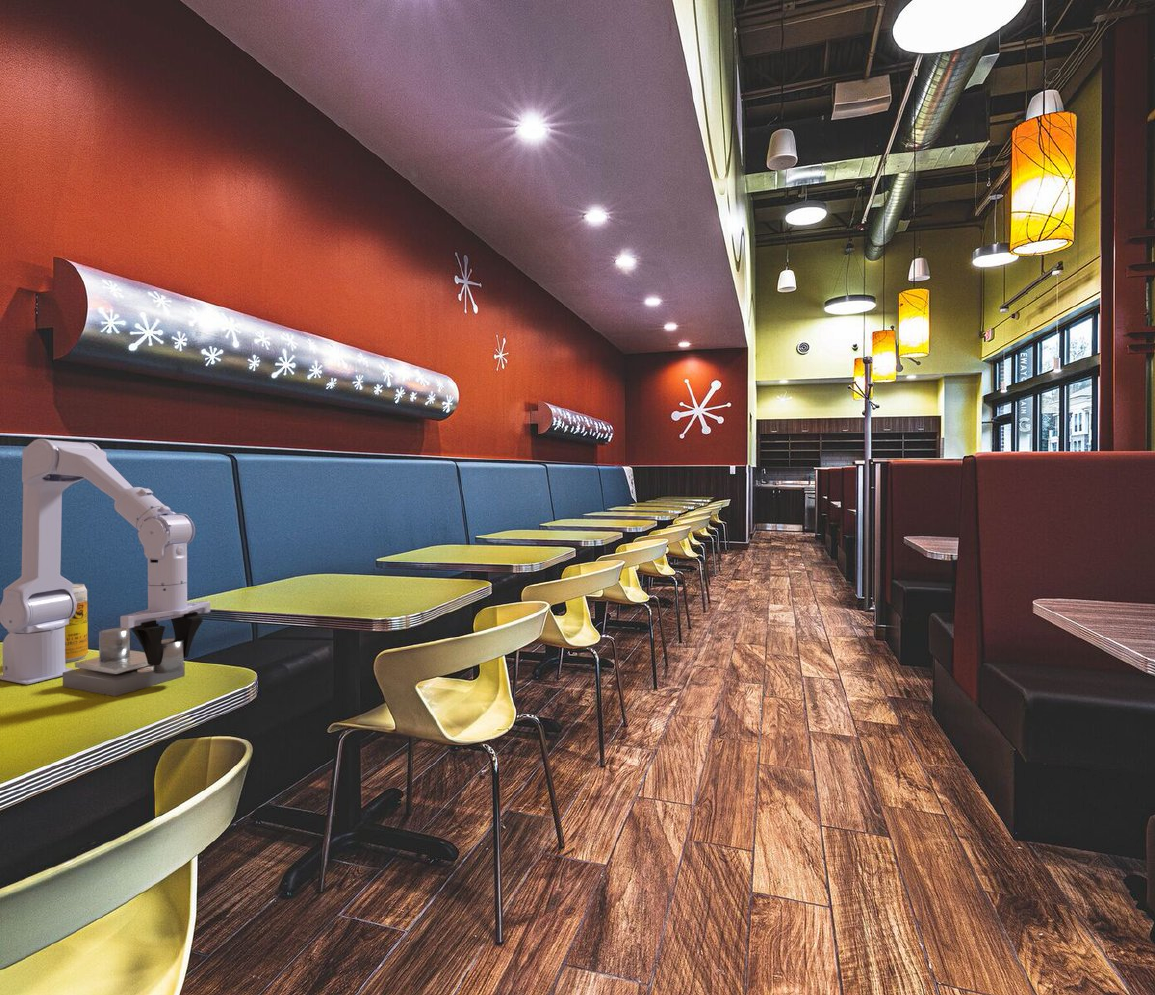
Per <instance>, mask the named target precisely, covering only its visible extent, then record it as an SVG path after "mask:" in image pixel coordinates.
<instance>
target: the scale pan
mask: <svg viewBox="0 0 1155 995" xmlns="http://www.w3.org/2000/svg"><path fill="white" fill-rule="evenodd" d="M148 665H149V664H148V662H147V658H146V655H145V652H143V651H137V650H131V649H130V657H128V658H126V659H122V660H117V661H107V662H103V661H100V660H99V656H98V657H94V658H90V659H85V660H79V661H75V662H74V668H76V669H79V668H82V669H88V670H94V671H100V672H106V673H112V674H118V673H122V672H125V671H129V670H133V669H137V668H140V667H144V666H148Z"/></svg>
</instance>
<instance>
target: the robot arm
mask: <svg viewBox="0 0 1155 995" xmlns="http://www.w3.org/2000/svg"><path fill="white" fill-rule="evenodd" d="M21 453H22V460H21V461H22V465H21V470H22V471H21V482H22V483H23V484H22V487H23V488H22V489H23V490H22V529H21V530H22V536H21V537H22V538H21V541H22V542H21V543H22V544H21V576H20V577H19V578H18V579H16V580H15V581H13V582H12V583H11V584H9V585H8V586H6V587H5V588H4V589H3V595H2V601H1V603H0V624H1V625H2V626H3V628H4V629H6V630H7V632H8V634H7V635H6V636H5V638H4V639H3V641H2V645H1V646H2V647H1V648H2V674H1V675H0V680H2V681H7V682H12V683H17V684H23V685H31V684H35V683H38V682H43V681H47V680H50V679H51V680H52V679H56V678H58V677H63V672H67V671H71V670H75V668H69V667H66V663H65V625H68V624H69V620H70V619H71V618H72V617H73V616H74V614H75V612H76V608H77V602H76V599H75V596H74V593H73V584H74V583H73V582H72V581H70V580H68V579H67V578H65V577H64V576H62V575H61V561H62V559H61V558H62V557H61V556H62V553H61V552H62V549H61V548H62V546H61V545H62V512H63V511H62V509H63V508H62V505H63V504H62V502H63V499H62V498H63V492H64V491H65V490H66V489H68V488H69V487H70V486H71V485H73V484H75V483H78V482H81V481H83V480H85V479H86V481H88V482H90V483H91V484H93V485H94V486H95V487H96V488H98V489H99V490H100V491H102V492H103V493H105V494H106V495H107V496H109V497H110V498H111V499H112V500H114V502H113V507H114V508H113V509H114V510H115V511H116V512H117V513H118V514H119V515H120V516H121V517H122V518H123V519H125V520H126V521H127V522H128V523H129V524H130V525H132V526H133V527H134V528H135V529H136V530H137V531H138V532H137V536H138V539H139V542H140V543H141V545H142V546H143V550H144V551H143V552H144V553H143V554H144V556H145V558H146V559H147V609H143V610H139V611H137V612H133V613H129V614H124V615H120V616H119V617H120V618H119V619H120V621H119V622H120V628H129V629H131V631H132V632H133V634H134V635H135V637H136V639H138V641H139V643H140V645H141V647H142V649H143V651H144V652H145V655H146V658H147V662H148V664H149V665H155V666H156V665H160V661H161V642H162V640H163V637H164V632H165V629H166V626H165V625H160V624H159V623H157V622H162V621H167V620H170V622H171V623H172V627H173V632H174V633H173V634H174V639H175V638H178V639H183V655H184V659H186V658H189V655H190V654H189V653H190V651H191V647H192V643H193V640H194V637H195V635H196V633H197V631H198V630H199V627H200V626H201V625H202V623H203V622H204V618H203V615H198V614H203V613H204V614H206V613H211V601H209V600H208V601H207V600H201V601H194V602H188V548H187V547H188V545H189V544H190V543H191V542H192V541H193V540H194V538H195V535H196V527H195V523H194V521H192V519H191V518H190V517H189V515H188V514H185V513H182V512H181V513H176V512H175V511H172V510H171V507H169V506H168V505H165V504H163V503H162V502H161V501H160V500H159V499H158V498H156V497H155V495H153V493H154V491H152V490H151V489H150V488H144V487H142V486H141V487H140V486H136V487H135V486H134V487H133V486H132V484H130V482H129V481H127V480H126V479H125V477H123V475H122V474H121V473H120V472H119V471H118V470H117V469H115V467H114V466H113V465H112V464H111V463H110V462H109V461H108V458H107V452H106V451H104V450H102V449H101V448H100V446H98V445H97V444H96V443H93V442H89V441H87V442H78V441H63V440H53V439H52V440H51V439H46V438H37V439H34V440H33V441H32V442H30V443H29V444H28V445H27V446H26V447H25V448H24V449H23V450H22V452H21Z"/></svg>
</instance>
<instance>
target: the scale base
mask: <svg viewBox="0 0 1155 995" xmlns="http://www.w3.org/2000/svg"><path fill="white" fill-rule="evenodd" d="M185 664H186V663H185V662H184V668H183V669H182V670H180V671H177V672H172V673H165V674H156V673H154V672H153V665H148V666H144V667H140V668H137V669H133V670H129V671H125V672H122V673H118V674H112V673H106V672H100V671H94V670H88V669H82V668H76V669H75V668H74V669H75V670H71V671H67V672H63V676H62V687H63V688H68V689H74V690H78V691H84V692H89V693H95V694H99V693H100V695H104V694H106V695H105V696H110V695H111V697H118V696H122V695H125V694H128V693H131V692H135V691H139V690H141V689H145V688H148V687H152V686H155V685H159V684H162V683H165V682H169V681H172V680H174V679H179V678H182V677H185V675H186V673H185V668H186V666H185Z"/></svg>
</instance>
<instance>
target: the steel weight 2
mask: <svg viewBox="0 0 1155 995" xmlns="http://www.w3.org/2000/svg"><path fill="white" fill-rule="evenodd" d="M184 659H185V658H184V655H183V639H178V638H175V637H174V638H166V639H165V638H164V639H162V642H161V661H160V665H156V666H155V665H153V672H154V673H156V674H165V673H172V672H177V671H180V670H182V669H183V668H184V661H185V660H184Z"/></svg>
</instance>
